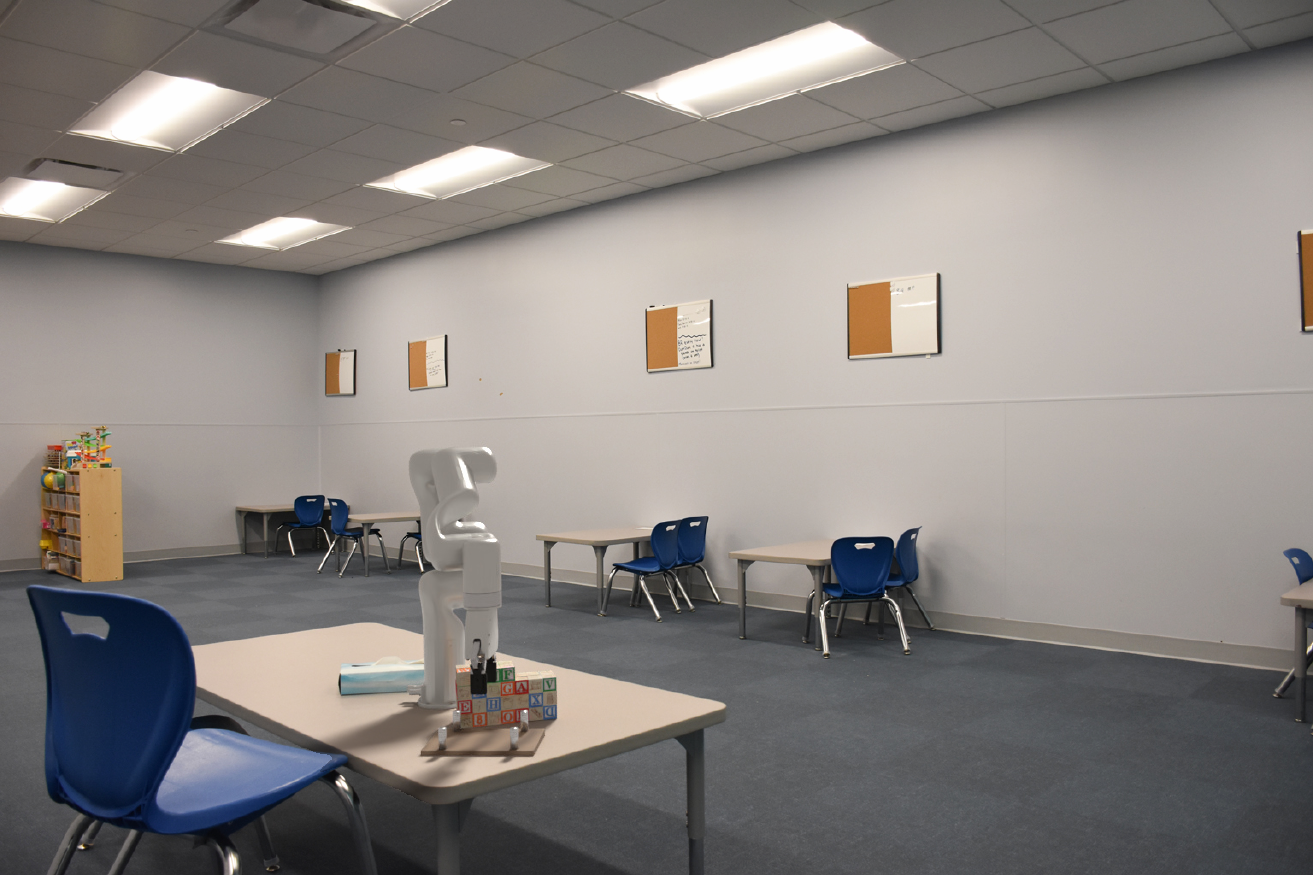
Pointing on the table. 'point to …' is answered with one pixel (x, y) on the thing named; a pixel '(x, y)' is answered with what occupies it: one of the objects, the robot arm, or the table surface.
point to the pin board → (485, 740)
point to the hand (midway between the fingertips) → (483, 687)
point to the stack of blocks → (506, 696)
